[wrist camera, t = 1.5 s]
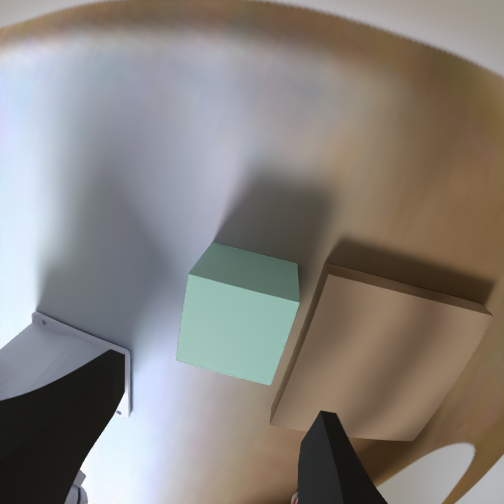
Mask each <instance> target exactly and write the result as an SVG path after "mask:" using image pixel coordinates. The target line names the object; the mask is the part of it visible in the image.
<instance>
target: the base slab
mask: <svg viewBox="0 0 504 504" xmlns="http://www.w3.org/2000/svg"><path fill="white" fill-rule="evenodd" d="M492 317H493V315H492V314H491V313H490V312H489V311H488V310H487V309H486V308H485V307H484V306H483V305H482V304H480V303H477V302H473V301H469V300H465V299H462V298H458V297H454V296H451V295H447V294H443V293H439V292H436V291H432V290H428V289H424V288H421V287H417V286H413V285H409V284H406V283H402V282H398V281H394V280H391V279H387V278H383V277H379V276H375V275H372V274H368V273H364V272H360V271H356V270H353V269H349V268H345V267H341V266H337V265H333V264H330V263H326V262H325V263H324V267H323V270H322V273H321V276H320V279H319V282H318V285H317V288H316V291H315V293H314V296H313V299H312V302H311V305H310V308H309V311H308V314H307V316H306V319H305V322H304V325H303V328H302V330H301V333H300V336H299V339H298V341H297V344H296V347H295V349H294V352H293V355H292V357H291V360H290V362H289V365H288V368H287V370H286V373H285V375H284V378H283V380H282V383H281V385H280V388H279V390H278V393H277V395H276V398H275V400H274V403H273V405H272V408H271V418H270V425H273V426H278V427H284V428H289V429H295V430H301V431H307V432H308V431H309V429H310V427H311V426H312V424H313V422H314V421H315V419H316V417H317V416H318V414H319V412H320V410H322V411H327V412H333V413H337V415H338V417H339V419H340V422H341V424H342V426H343V428H344V430H345V432H346V435H347V437H354V438H365V439H378V440H395V441H414V439H415V438H416V437H417V436H418V434H419V433H420V432H421V431H422V429H423V428H424V427H425V425H426V424H427V423H428V421H429V420H430V419H431V417H432V416H433V415H434V413H435V412H436V411H437V409H438V408H439V406H440V405H441V403H442V402H443V401H444V399H445V398H446V396H447V395H448V393H449V392H450V390H451V389H452V387H453V386H454V384H455V383H456V381H457V380H458V378H459V376H460V375H461V373H462V372H463V370H464V368H465V367H466V365H467V363H468V362H469V360H470V358H471V356H472V355H473V353H474V351H475V350H476V348H477V346H478V344H479V342H480V340H481V339H482V337H483V335H484V333H485V331H486V329H487V327H488V325H489V323H490V321H491V319H492Z"/></svg>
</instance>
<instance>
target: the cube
mask: <svg viewBox="0 0 504 504" xmlns="http://www.w3.org/2000/svg"><path fill="white" fill-rule="evenodd" d="M299 303H300V298H299V281H298V265H297V263H293V262H290V261H286V260H282V259H278V258H274V257H270V256H266V255H262V254H258V253H254V252H250V251H247V250H243V249H239V248H235V247H231V246H227V245H223V244H219V243H215V242H212V244H211V245H210V246H209V247H208V249H207V250H206V251H205V253H204V254H203V255H202V257H201V258H200V259H199V261H198V262H197V263H196V264H195V266H194V267H193V268H192V270H191V271H190V272H189V274H188V279H187V286H186V292H185V298H184V305H183V311H182V318H181V325H180V332H179V339H178V346H177V354H176V361H179V362H183V363H186V364H189V365H193V366H196V367H200V368H203V369H207V370H210V371H214V372H218V373H221V374H225V375H229V376H233V377H237V378H241V379H245V380H249V381H253V382H257V383H262V384H266V385H271V383H272V380H273V377H274V375H275V372H276V369H277V366H278V364H279V361H280V358H281V355H282V353H283V350H284V347H285V344H286V341H287V339H288V336H289V333H290V330H291V327H292V324H293V321H294V318H295V315H296V312H297V309H298V306H299Z"/></svg>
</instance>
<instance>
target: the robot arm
mask: <svg viewBox="0 0 504 504" xmlns="http://www.w3.org/2000/svg"><path fill="white" fill-rule="evenodd" d="M32 322H33V323H31V324H30V325H29V326H28V327H26V328H25V329H24V330H23V331H22V332H20V333H19V334H18V335H17V336H16V337H15V338H13V339H12V340H11V341H10V342H9V343H7V344H6V345H5V346H4V347H3V348H2V349H1V350H0V504H88V498H87V493H86V491H85V490H84V488H83V487H82V486H81V484H82V483H83V481H84V479H85V477H86V475H85V474H84V473H83V472H82V471H81V470H80V468H81V465H82V463H83V462H84V460H85V458H86V456H87V455H88V453H89V451H90V450H91V448H92V447H93V445H94V444H95V442H96V441H97V439H98V438H99V436H100V435H101V433H102V432H103V430H104V429H105V427H106V426H107V424H108V423H109V421H110V420H111V418H112V417H113V415H114V414H116V415H119V416H121V417H124V418H129V417H130V414H131V410H130V352H129V351H128V350H127V349H125V348H123V347H120V346H118V345H115V344H112V343H110V342H107V341H104V340H102V339H99V338H97V337H94V336H92V335H89V334H87V333H84V332H82V331H79V330H77V329H75V328H72V327H70V326H68V325H65V324H63V323H61V322H59V321H56V320H54V319H52V318H50V317H47V316H45V315H43V314H41V313H39V312H36V311H35V312H34V313H32ZM117 351H118V352H117ZM298 504H388V503H387V502H386V501H385V499H384V498H383V497H382V495H381V494H380V493H379V491H378V490H377V489H376V487H375V486H374V484H373V483H372V481H371V479H370V478H369V476H368V474H367V473H366V471H365V469H364V468H363V466H362V464H361V462H360V460H359V458H358V457H357V455H356V453H355V451H354V449H353V447H352V445H351V443H350V441H349V439H348V437H347V435H346V432H345V430H344V428H343V426H342V424H341V422H340V419H339V417H338V415H337V413H333V412H327V411H322V410H320V412H319V414H318V416H317V417H316V419H315V421H314V422H313V424H312V426H311V427H310V429H309V431H308V432H307V434H306V436H305V437H304V439H303V440H302V442H301V447H300V455H299V463H298Z"/></svg>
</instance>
